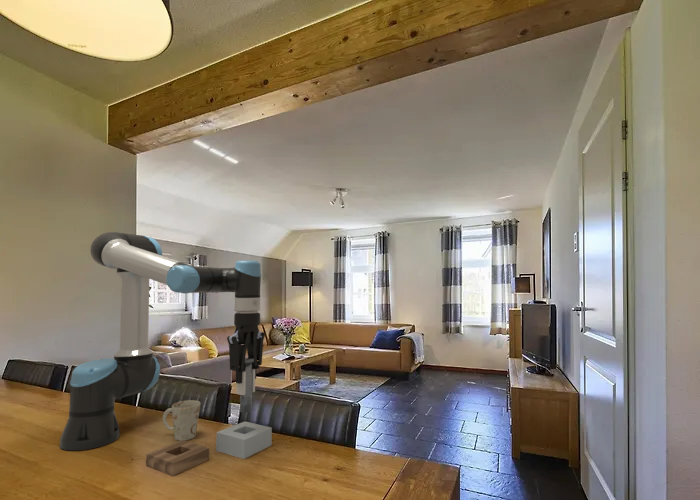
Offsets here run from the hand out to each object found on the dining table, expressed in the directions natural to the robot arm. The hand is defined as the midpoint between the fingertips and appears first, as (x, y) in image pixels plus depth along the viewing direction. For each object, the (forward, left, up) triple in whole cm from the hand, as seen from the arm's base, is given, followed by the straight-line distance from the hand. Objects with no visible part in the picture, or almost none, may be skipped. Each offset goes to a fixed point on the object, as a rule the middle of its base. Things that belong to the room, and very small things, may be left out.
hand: (245, 392), depth 117 cm
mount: (-8, -16, -16) cm, 24 cm away
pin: (0, 0, -5) cm, 5 cm away
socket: (0, 0, -16) cm, 16 cm away
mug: (-24, -4, -16) cm, 29 cm away
